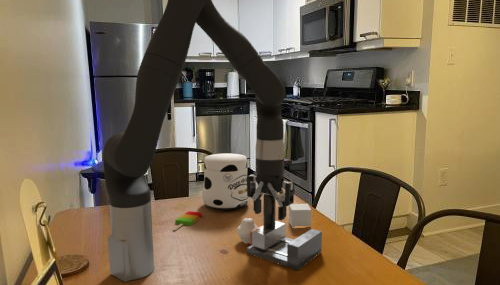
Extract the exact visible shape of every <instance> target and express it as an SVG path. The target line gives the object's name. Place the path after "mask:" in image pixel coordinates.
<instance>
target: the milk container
mask: <svg viewBox="0 0 500 285" xmlns="http://www.w3.org/2000/svg"><path fill="white" fill-rule="evenodd" d="M203 167H204V168H203V175H204V177H203V178H204V179H203V186H202V190H201V191H202V192H201V197H202V202H203V203H204V205H205V206H206V207H208V208H211V209H213V210H214V209H215V210H218V211H219V210H220V211H221V210H222V211H225V210H236V209H239V208H242V207H244V206H246V205H247V204H248V203H249V201H250V197H248V196H247V176H248V159H247V156H246V155H244V154H241V153H240V154H239V153H227V152H226V153H214V154H210V155H209V154H208V155H206V156H204V160H203Z"/></svg>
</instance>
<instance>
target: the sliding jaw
mask: <svg viewBox="0 0 500 285" xmlns="http://www.w3.org/2000/svg"><path fill="white" fill-rule="evenodd" d="M262 199H263V201H262V202H263V203H262V204H263V208H262V209H263V213H262V214H263V224H262V225H260V226H257V227H258V228H256V229H254V230H252V231H250V243H249V244H250V246H251V245H252V246H255V247H258V248H261V249H264V250H265V249H266V248H268V247H270V246H272V245H273V244H275V243H277V242H278V241H280V240H282V239H283V238H285V237H286V235H287V234H286V233H287V229H286V228H287V225H286V223H284V222H281V221H279V220H276V202H277V200H276V199H274V197H273V195H270V194H268V193H266V194H265V193H264V194H263V198H262Z"/></svg>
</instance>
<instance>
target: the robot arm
mask: <svg viewBox="0 0 500 285" xmlns="http://www.w3.org/2000/svg"><path fill="white" fill-rule="evenodd" d="M196 25H197V26H199V28H200V29H201V30H202V31H203V32H204V33H205V34H206V35H207V37H208V38H209V39H210V40H211V41H212V42H213V43H214V45H215V46H216V47H218V50H219V51H220V52H221V53H222V54H223V56H224V57H225V58H226V60H227V61H228V63H230V66H232V68H233V69H234V70H235V72H237V74H238V75H239V76H240V77H241V78H242V79H243V80H244V81H245V82H246V83H247V84H248V86H249V87H250V90H251V91H252V92H253V93H254V95H255V109H256V127H255V128H256V138H255V139H256V140H255V141H256V142H255V173H253V174H250V175H247V196H248V197H249V198H251V199H252V201H253V212H254V214H255V215H259V214H261V213H262V197H263V196H264V194H266V193H268V194H270V195H273V197H274V199H276V202H277V204H278V207H277V208H278V209H277V211H278V212H277V219H278V220H277V221H283V220H285V218H286V217H287V207H289V205H291V204H295V203H294V202H295V201H294V200H295V182H294V181H286V180H285V179H284V173H285V142H284V131H285V130H284V129H285V128H284V125H285V124H284V120H283V119H284V118H283V117H282V103H283V102H284V100H285V99H286V93H287V92H286V88H285V86H284V84H283V82H282V80H280V78H279V77H278V76H277V74H276V73H274V72H273V70H272V69H271V68H270V67H269V65H268V64H267V63H265V61H264V60H263V58H262V57H261V55H260V54H259V52H258V51H257V50H256V48H255V47H254V46H253V44H252V42H251V41H250V40H248V38H247V37H246V36H245V35H244V34H243V33H242V32H241V31H240V30H238V29H237V28H236V27H234V25H232V24H231V23H230V22H229V21H227V19H226V18H225V17H223V15H222V14H221V12H219V10H218V9H217V6H215V4H214V3H213V1H212V0H167V3H166V6H165V9H164V11H163V14H162V17H161V18H160V20H159V22H158V24H157V25H156V28H155V30H154V32H153V34H152V36H151V39H150V40H149V42H148V46H147V48H146V50H145V52H144V55H143V57H142V59H141V62H140V64H139V67H138V71H137V75H136V79H135V90H134V91H135V94H134V107H133V111H132V114H131V117H130V119H129V121H128V123H127V125H126V128H125V131H124V132H123V131H122V132H117V133H114V134H113V135H111V136H110V137H109V138H108V139H107V140H106V142H105V144H104V147H103V150H102V160H103V161H102V164H103V174H104V183H105V190H106V192H107V195H108V201H109V214H110V217H109V218H110V231H111V233H110V234H109V235H108V237H107V242H108V244H107V246H108V256H109V257H108V258H109V272H110V273H109V274H110V275H111V276H114V277H115V278H116V279H119V280H121V281H122V282H125V283H126V282H129V281H132V280H138V279H143V278H145V277H147V276H149V275H150V274H152V273H153V271H154V270H155V261H154V259H155V258H154V236H153V219H152V218H153V217H152V197H151V196H152V195H151V194H152V192H151V188H150V187H149V185H148V183H147V180H146V178H145V173H146V172H147V171H148V169H149V168H151V165H152V163H153V161H154V160H155V159H154V158H155V155H156V152H157V149H158V143H159V140H160V136H161V135H160V134H161V131H162V128H163V123H164V120H165V118H166V115H167V113H168V110H169V107H170V105H171V102H172V99H173V96H174V93H175V91H176V89H177V86H178V84H179V81H180V78H181V75H182V72H183V70H184V66H185V63H186V60H187V56H188V53H189V49H190V45H191V41H192V36H193V32H194V29H195V27H196Z"/></svg>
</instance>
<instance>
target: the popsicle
mask: <svg viewBox="0 0 500 285" xmlns="http://www.w3.org/2000/svg"><path fill="white" fill-rule="evenodd" d="M202 217H203V215H202V212H199V211H186V212H185V213H184V214H182V215H181V216H180V217H178V218H176V219H175V221H174V222H175V223H174V224H176V225H177V226H175V227H174V228H173V229H172V231H173V232H175V231H177V230H179V229H180V228H181V227H182V226H189V227H191V226H192V225H193V224H194V222H195V223H196V222H197V221H199V220H200V219H201V218H202ZM199 218H200V219H199Z"/></svg>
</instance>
